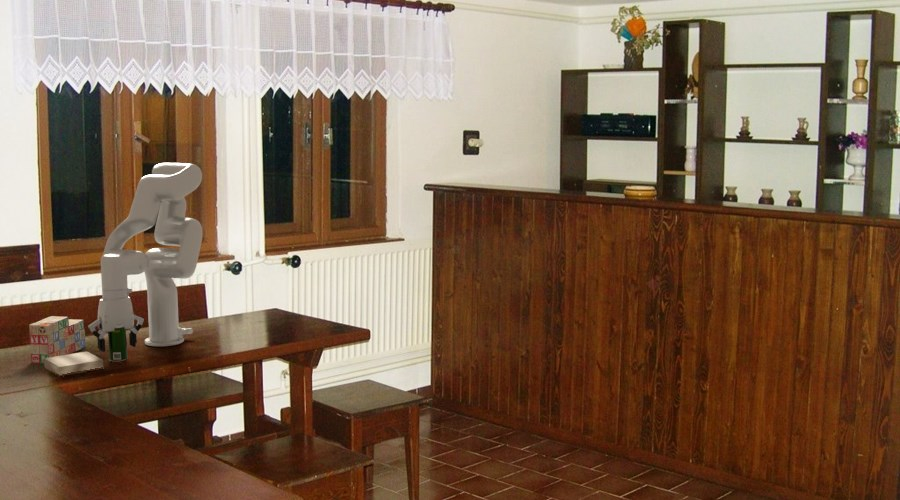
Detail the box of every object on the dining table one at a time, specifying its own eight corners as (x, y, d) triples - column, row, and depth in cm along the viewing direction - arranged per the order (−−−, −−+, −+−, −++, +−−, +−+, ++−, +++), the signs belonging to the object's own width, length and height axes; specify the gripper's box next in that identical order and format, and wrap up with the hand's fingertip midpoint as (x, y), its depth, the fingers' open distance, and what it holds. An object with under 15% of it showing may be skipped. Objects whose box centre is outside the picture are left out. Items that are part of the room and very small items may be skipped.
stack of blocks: (68, 346, 342) (66, 309, 340) (86, 347, 341) (83, 310, 339) (31, 363, 321) (28, 324, 319) (49, 364, 320) (47, 325, 318)
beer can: (128, 362, 322) (126, 324, 320) (109, 363, 320) (107, 325, 318) (127, 357, 327) (125, 320, 325) (109, 359, 325) (107, 321, 323)
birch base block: (87, 360, 324) (86, 351, 323) (103, 369, 314) (102, 359, 313) (44, 367, 315) (44, 358, 315) (59, 377, 306) (59, 367, 305)
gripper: (137, 289, 329) (139, 342, 331) (82, 295, 318) (85, 350, 320) (147, 292, 323) (149, 346, 326) (91, 299, 312) (94, 355, 315)
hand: (117, 348), depth 323 cm, fingers open, 9 cm apart
